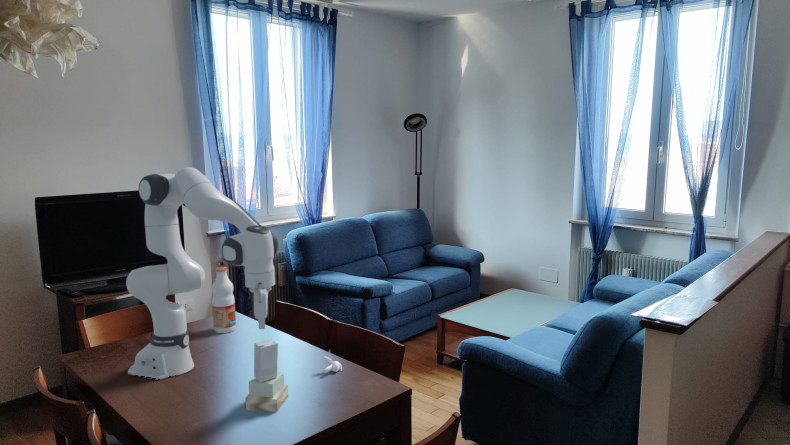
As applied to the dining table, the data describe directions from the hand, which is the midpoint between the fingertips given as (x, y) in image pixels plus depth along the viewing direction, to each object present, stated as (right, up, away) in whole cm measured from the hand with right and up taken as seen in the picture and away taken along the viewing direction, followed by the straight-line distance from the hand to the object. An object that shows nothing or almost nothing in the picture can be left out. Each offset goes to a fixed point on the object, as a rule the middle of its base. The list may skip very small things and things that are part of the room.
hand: (262, 323), depth 166 cm
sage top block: (0, -22, +4) cm, 23 cm away
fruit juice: (-34, -17, +71) cm, 81 cm away
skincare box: (0, -18, +3) cm, 18 cm away
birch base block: (+1, -27, +5) cm, 27 cm away
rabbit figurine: (+18, -23, +27) cm, 40 cm away
